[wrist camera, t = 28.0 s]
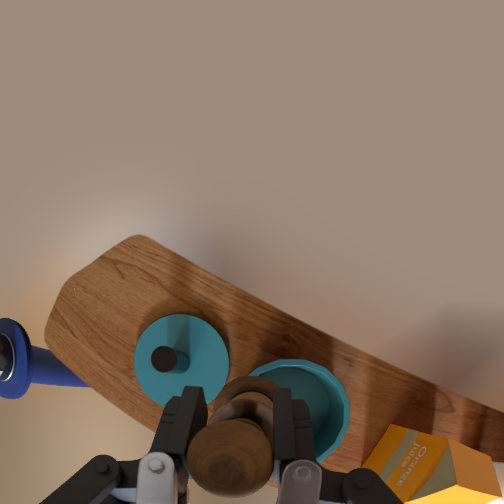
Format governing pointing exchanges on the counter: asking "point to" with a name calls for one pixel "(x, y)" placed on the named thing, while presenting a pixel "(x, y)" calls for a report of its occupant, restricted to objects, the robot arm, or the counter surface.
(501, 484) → the drinking glass
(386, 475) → the orange juice
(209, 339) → the lid
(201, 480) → the mortar and pestle
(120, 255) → the counter surface
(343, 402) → the pot
